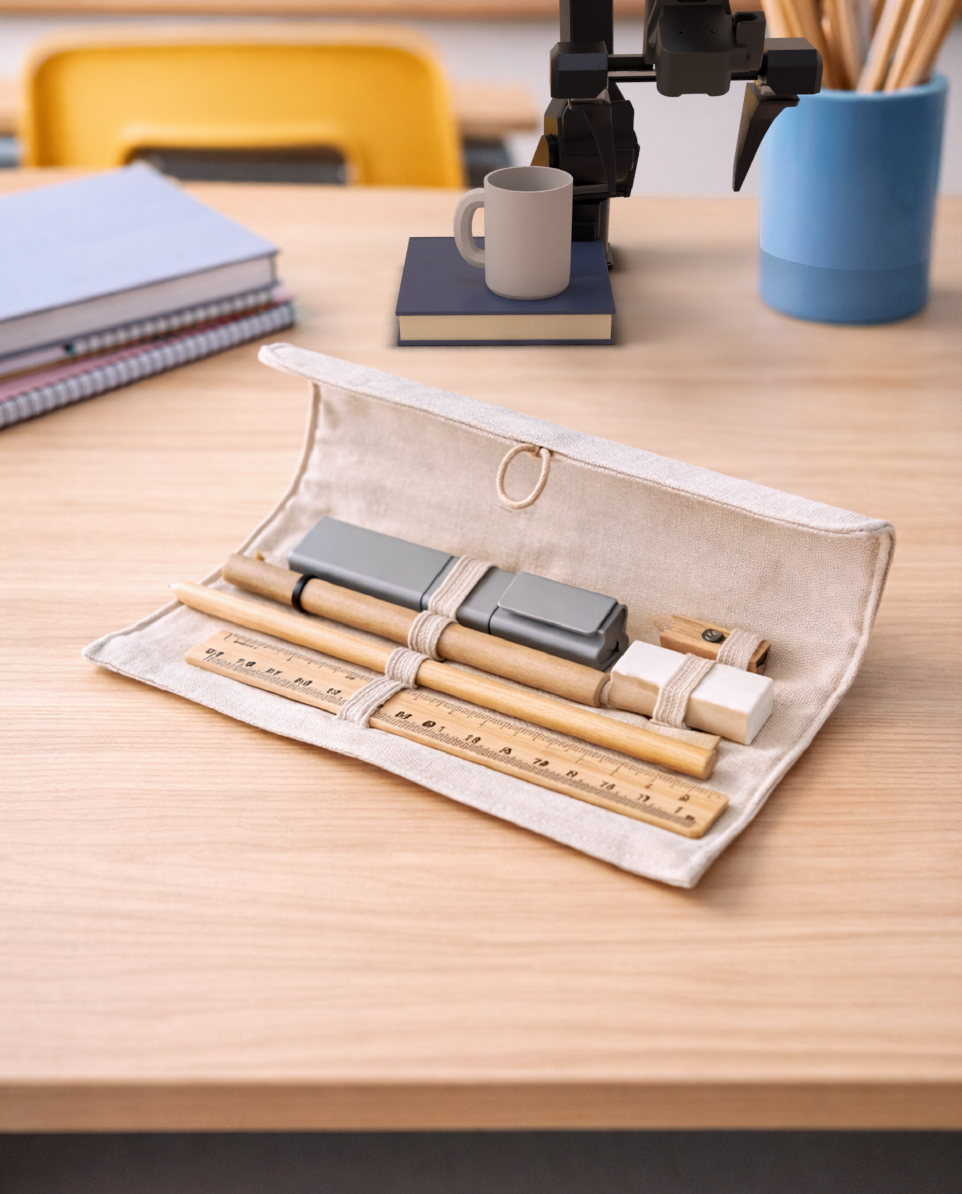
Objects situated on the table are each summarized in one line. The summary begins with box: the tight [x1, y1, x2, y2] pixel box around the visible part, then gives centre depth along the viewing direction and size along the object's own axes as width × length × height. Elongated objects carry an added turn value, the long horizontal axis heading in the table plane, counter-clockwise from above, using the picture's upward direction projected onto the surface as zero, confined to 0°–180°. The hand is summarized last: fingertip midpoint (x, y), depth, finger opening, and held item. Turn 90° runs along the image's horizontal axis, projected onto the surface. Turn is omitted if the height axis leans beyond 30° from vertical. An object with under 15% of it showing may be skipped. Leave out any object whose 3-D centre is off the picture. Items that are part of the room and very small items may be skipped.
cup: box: [452, 165, 573, 300], centre depth 99 cm, size 7×10×9 cm
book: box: [394, 235, 617, 347], centre depth 105 cm, size 18×18×3 cm
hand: (673, 191), depth 89 cm, fingers open, 9 cm apart
